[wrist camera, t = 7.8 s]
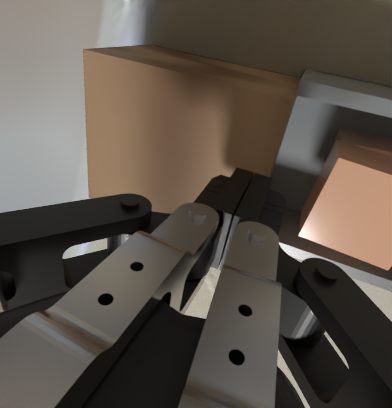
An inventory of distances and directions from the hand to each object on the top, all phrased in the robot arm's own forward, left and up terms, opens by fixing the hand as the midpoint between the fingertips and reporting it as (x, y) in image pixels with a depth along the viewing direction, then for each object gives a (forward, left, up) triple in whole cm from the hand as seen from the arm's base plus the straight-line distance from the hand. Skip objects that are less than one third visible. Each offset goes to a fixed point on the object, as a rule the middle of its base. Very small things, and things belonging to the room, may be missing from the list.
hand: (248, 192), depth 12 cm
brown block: (-4, 0, -7) cm, 8 cm away
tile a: (+5, 0, -4) cm, 6 cm away
